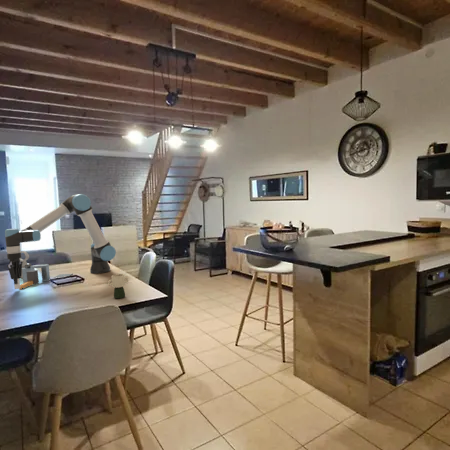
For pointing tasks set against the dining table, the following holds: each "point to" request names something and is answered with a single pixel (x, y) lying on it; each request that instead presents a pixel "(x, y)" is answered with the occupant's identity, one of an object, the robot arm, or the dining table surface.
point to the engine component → (24, 260)
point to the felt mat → (63, 275)
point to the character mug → (118, 285)
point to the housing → (29, 267)
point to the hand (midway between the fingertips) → (17, 288)
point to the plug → (30, 278)
